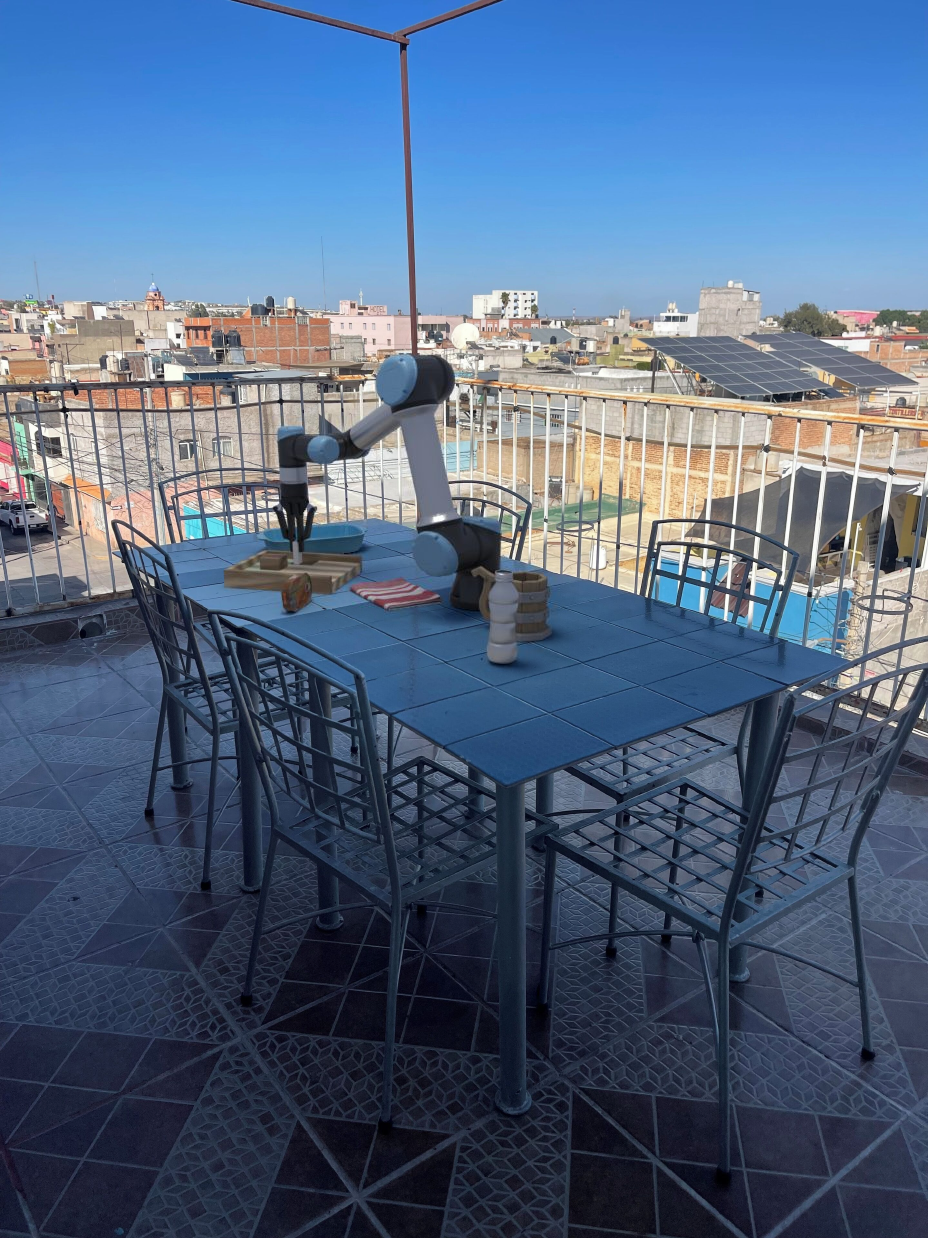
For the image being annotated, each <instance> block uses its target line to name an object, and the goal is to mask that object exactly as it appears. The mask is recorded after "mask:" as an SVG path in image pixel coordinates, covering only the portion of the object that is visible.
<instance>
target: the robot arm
mask: <svg viewBox="0 0 928 1238" xmlns="http://www.w3.org/2000/svg"><path fill="white" fill-rule="evenodd" d="M455 385H456V373H455V371H454V369H453V367H452V365H451V364H450V362H449V361H447V360H446V359H445V358H444V357H442V356H439V355H437V354H411V353H409V354H408V353H401V354H395V355H391V356H389V357H387V358H386V359H385V360H384V361H382V363H381V364H380V365H379V369H378V370H377V373H376V378H375V389H376V393H377V396H378V398H379V400H381V401H382V402H383V403H382V404H381V405H380V406H378V407H376V408H375V410H373V411H371V412H370V413H369V414H368V415H366V416H365V417H364V418H362V419H361V420H360V421H358V422H356V423H355V424H353V426H352V427H350V428H349V429H347V430H346V431H343V432H336V433H327V434H312V435H311V434H306V432H305V428H304V427H303V426H301V425H282V426H279V427H278V428H277V429H276V430H277V433H276V437H277V439H276V443H277V444H276V445H277V453H278V455H277V456H278V468H279V470H278V471H279V472H278V473H279V481H280V482H281V483H280V486H279V487H280V490H279V491H280V500H279V503H278V504H276V505H274V506H273V507H272V510H273V512H274V513H275V514H276V517H277V521H278V525H279V528H280V529H281V532H282V536H283V538H284V539H287V540H289V541H290V551H291V552H293V558H294V564H300V563H302V552H304V540H307V539H309V538H310V535H311V530H312V526H313V524H314V518H315V514H316V512H317V511H318V506H314V505H312V504H311V503H310V500H309V498H308V494H309V493H308V483H307V482H306V481H307V478H308V476H307V463H310V464H318V465H331V464H333V463H334V462H338V461H347V460H359V459H361V458H365V457H367V456H368V455H369V453H370V451H371V448H372V447H373V446H375V445H376V444H377V443H379V442H380V441H381V440H384V439H385V438H386V437H387V436H389V435H390V434H392V433H393V432H395V431H396V430H398V429H399V428H400V429H401V434H402V438H403V442H404V446H405V451H406V456H407V461H408V466H409V469H410V474H411V475H410V476H411V480H412V483H413V489H414V493H415V498H416V502H417V506H418V512H419V517H420V518H419V520H418V522H417V524H416V525H415V528H416V530H417V531H416V533H417V535H416V536H415V537H414V539H413V542H412V545H411V553H412V558H413V560H414V562H415V564H416V566H417V567H418V568H419V569H420V570H421V571H422V572H424V573H425V574H426V575H427V576H430V577H433V578H441V577H449V576H452V575H453V574H455V577H454V580H453V583H452V586H451V589H450V592H449V604H450V605H451V606H453V607H455V608H458V609H463V610H469V611H480V609H479V599H480V597H481V594H482V591H483V586H484V578H483V577H482V576H480V575H478V576H476V577H474V576H473V574H472V572H471V571H472V570H474V569H476V568H478V567H480V566H482V567H483V568H485V569H486V570H487V571H489V572H491V573H492V574H494V575H495V571H497V570H501V555H502V553H501V551H502V550H501V549H502V545H501V544H502V535H503V534H502V523H501V522H500V520H498V519H496V518H492V517H486V516H480V517H478V516H474V515H466V516H462V515H461V514H460V513H458V512H456V510H455V507H454V502H453V497H452V493H451V488H450V483H449V478H448V475H447V474H448V473H447V469H446V465H445V459H444V456H443V451H442V445H441V440H440V435H439V432H438V427H437V421H436V417H435V414H436V412H437V410H438V408H439V407H440V405H441V404H443V403H444V402H445V401H446V400H447V399H449V398H450V396H451V395H452V393H453V391H454V389H455ZM306 510H307V514H306V518H305V519H306V520H305V523H304V517H305V511H306ZM284 511H285V512H284ZM285 513H286V517H285ZM286 518H287V520H286ZM304 526H305V530H304ZM296 527H297V538H296ZM296 539H297V540H296ZM295 540H296V541H295ZM494 584H495V582H493V586H494ZM488 606H489V602H488ZM489 610H490V608H489Z"/></svg>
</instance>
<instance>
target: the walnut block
mask: <svg viewBox="0 0 928 1238" xmlns="http://www.w3.org/2000/svg"><path fill="white" fill-rule="evenodd" d="M259 559H260V570H273V571H280V570H282V569H284V568H285V567H287V566H288V560H287V555H285V554H266V555H264V556H262V557H260V558H259Z"/></svg>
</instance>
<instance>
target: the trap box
mask: <svg viewBox="0 0 928 1238" xmlns="http://www.w3.org/2000/svg"><path fill="white" fill-rule="evenodd" d="M266 554H285V555H287V560H288V566H287V567H285V568H284V569H282V570H280V571H273V570H260V559H259V558H260V557H262V556H264V555H266ZM362 559H363V557H362V555H361V554H358V555H357V554H327V553H310V552H302V563H300V564H294V558H293V552H291V551H274V550H268V549H263V550H262V551H260V552H257V553H255V554H254V555H252V556H250V557H248V558H246V559H244V560H242V561H240V562H238V563H236V564H234V565H232V566H230V567H227V568H225V569H224V570H223V581H224V588H227V589H229V588H230V589H242V590H256V591H258V590H259V591H270V590H271V591H273V592H274V591H275V592H281V589H282V585H283V583H284V582H285V581H286V580H287V579H289V578H291V577H292V576H294V575H295V574H297V573H307V574H308V575H309V576H310V579H311V583H312V594H317V593H318V594H317V595H332V594H333V593H335V592H336V591H337V590H338V589H341V587H343V586H345V584H347V583H349V582H350V581H352V580H353V579H354V578H355V577H357V576H359V575H360V572H361V573H362V572H363V560H362Z"/></svg>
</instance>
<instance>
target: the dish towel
mask: <svg viewBox="0 0 928 1238" xmlns="http://www.w3.org/2000/svg"><path fill="white" fill-rule="evenodd" d="M349 591H350V592H352V593H354V594H356V595H358V596H359V597H360V598H363V599H364V600H366V601H369V602H371V603H373V604H374V605H376V606H377V605H378V606H377V607H379V606H380V607H379V608H381V607H382V609H383V608H384V610H387V611H388V612H391V611H390V610H393V611H398V609H399V610H404V609H403V608H406V609H411V608H410V607H412V608H416V607H415V606H418V607H423V606H429V605H435V604H441V601H442V597H441V595H440V594H437V593H436V592H434V591H431V590H429V589H424V588H423V587H420V586H419V585H416V584H413V583H410V582H409V581H407V580H406V579H405V578H404V577H399V578H395V579H391V580H386V581H376V582H365V581H364V582H363V581H362V582H358V583H355V584H352V585H351V586H350V587H349Z"/></svg>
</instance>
